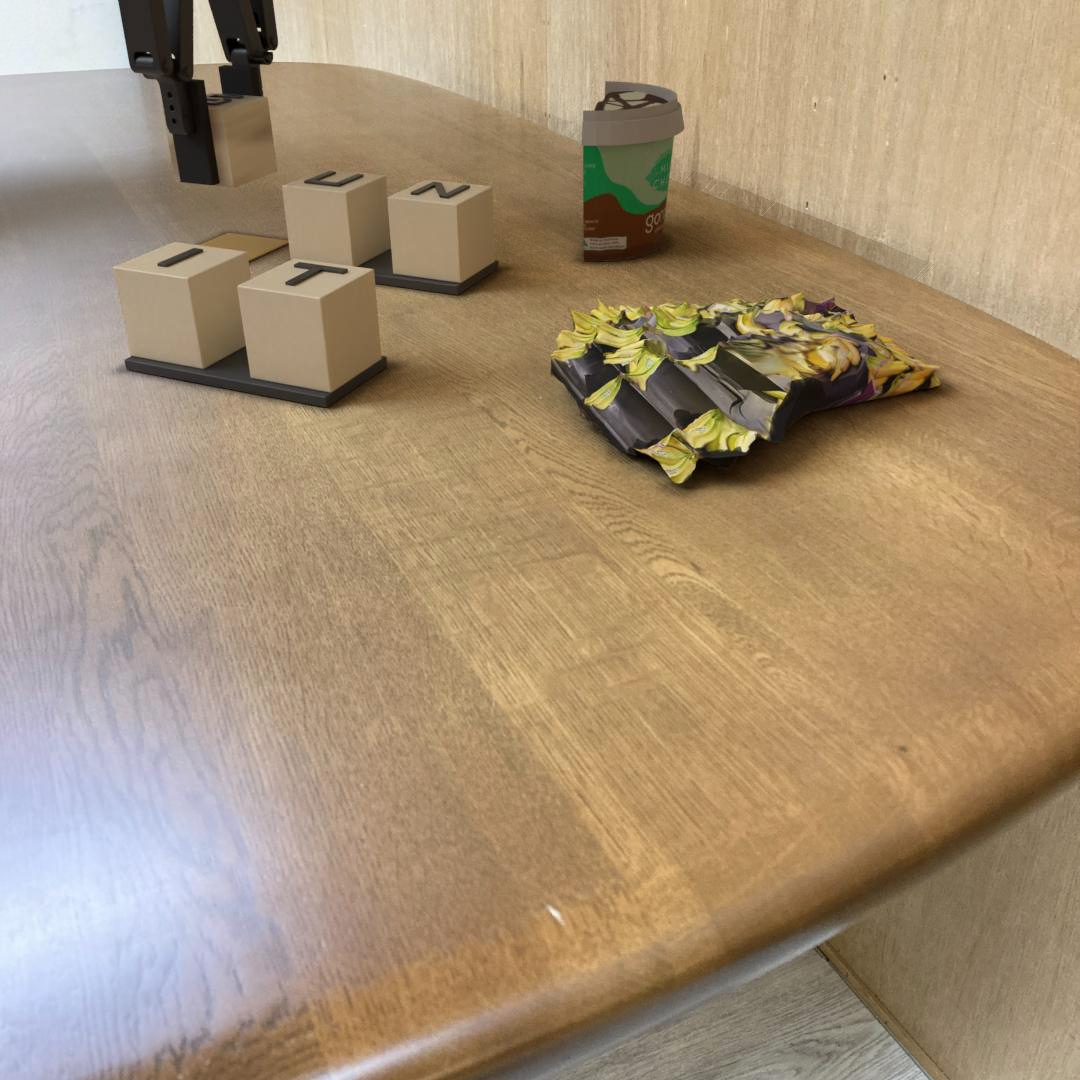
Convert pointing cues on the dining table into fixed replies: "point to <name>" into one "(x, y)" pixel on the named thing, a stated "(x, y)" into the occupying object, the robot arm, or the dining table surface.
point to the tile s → (237, 138)
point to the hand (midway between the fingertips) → (226, 172)
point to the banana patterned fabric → (723, 373)
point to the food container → (627, 169)
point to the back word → (385, 229)
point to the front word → (250, 322)
